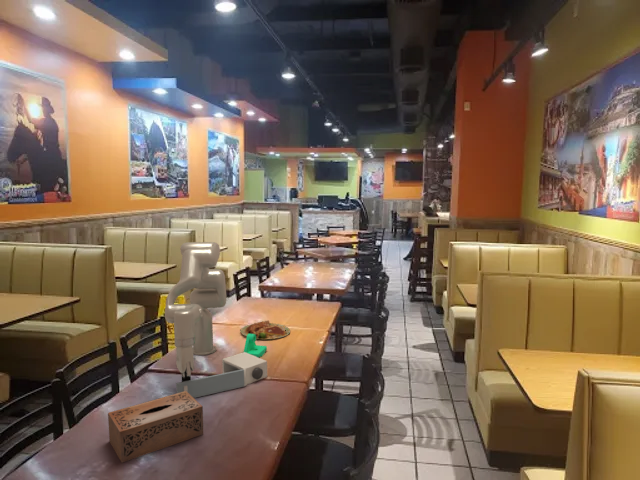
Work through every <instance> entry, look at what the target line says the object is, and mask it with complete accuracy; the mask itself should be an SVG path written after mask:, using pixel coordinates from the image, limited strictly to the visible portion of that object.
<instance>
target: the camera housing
mask: <svg viewBox="0 0 640 480" xmlns="http://www.w3.org/2000/svg"><path fill="white" fill-rule="evenodd" d="M221 366H222V367H221V368H222V374H223V373H227V372H232V371H237V370H242V369H246V386H247V385H249V384H252V383H255V382H258V381H261V380H262V379H264V378H265V379H266V378H267V377H268V360H265V359H263V358H261V357H256V356H253V355H251V354H248V353H246V352H244V351H243V352H240V353H237V354H234V355H231V356H228V357H224V358H222V360H221Z"/></svg>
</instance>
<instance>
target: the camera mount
mask: <svg viewBox="0 0 640 480" xmlns="http://www.w3.org/2000/svg"><path fill="white" fill-rule="evenodd" d="M256 340H257V339H256V334H248V335H247V336H246V339H245V343H244V349H243V352H246V353H248V354H251V355H253V356H256V357H258V358H261V357H262V356H264V355H265V354H266V353H265V352H266V351H268V347H267V346H266V345H257V343H256Z"/></svg>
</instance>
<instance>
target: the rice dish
mask: <svg viewBox="0 0 640 480" xmlns="http://www.w3.org/2000/svg"><path fill="white" fill-rule="evenodd" d="M285 330H286V331H285ZM239 332H240V333H241V334H242V335H243V336H244V337H245V336H246V337H247V335H248V334H256V340H268V339H271V340H276V339H281V338H283V337H286V336H288V335H289V334H290V333H291V329H290V328H289V327H287V326H286V325H283V324H280V323H273V322H270V320H264V321H263V320H262V321H257V322H254V323H251V324H248V325H245V326H243V327H241V328H240V329H239Z"/></svg>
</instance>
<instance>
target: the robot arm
mask: <svg viewBox="0 0 640 480" xmlns="http://www.w3.org/2000/svg"><path fill="white" fill-rule="evenodd" d="M179 248H180V254H181V264H180V265H181V266H180V274H179V277H180V278H179V281H178V282H177V283H176V284H174V285H173V287H172V288H171V289H170V290H169V292H168V294H167V297H166V300H165V309H164V318H165V319H164V320H165V321H166V322H167V323H169V324H173V326H174V327H173V331H174V347H175V349H176V351H175V356H176V357H175V358H176V359H175V362H176V367H177V370H178V371H179V372H180V374H181V382H184V381H189V380H192V377H191V373H192V372H194V369H195V364H194V363H195V362H194V356H206V355H211V354H214V353H215V352H216V351H217V347H216V346H215V345H214V336H213V335H214V333H213V329H214V328H213V315H212V312H210V310H209V309H221V308H224V307H225V306H226V304H227V286H226V276H225V271H223V270H222V269H221V268H220V269H219V268H216V269H215V267H216V266H217V264H218V261H219V258H220V254H221V248H220V245H219V243H217V242H215V241H209V242H208V241H202V242H201V241H193V242H191V241H190V242H187V241H186V242H183V243H182V244H181V245H180V247H179ZM193 289H194V290H193ZM190 290H192V291H191V293H190V294H189V301H190V302H189V303H175V302H176V300H177V299H178V297H180V296H181V295H182V294H184V293H186V292H189V291H190Z"/></svg>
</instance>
